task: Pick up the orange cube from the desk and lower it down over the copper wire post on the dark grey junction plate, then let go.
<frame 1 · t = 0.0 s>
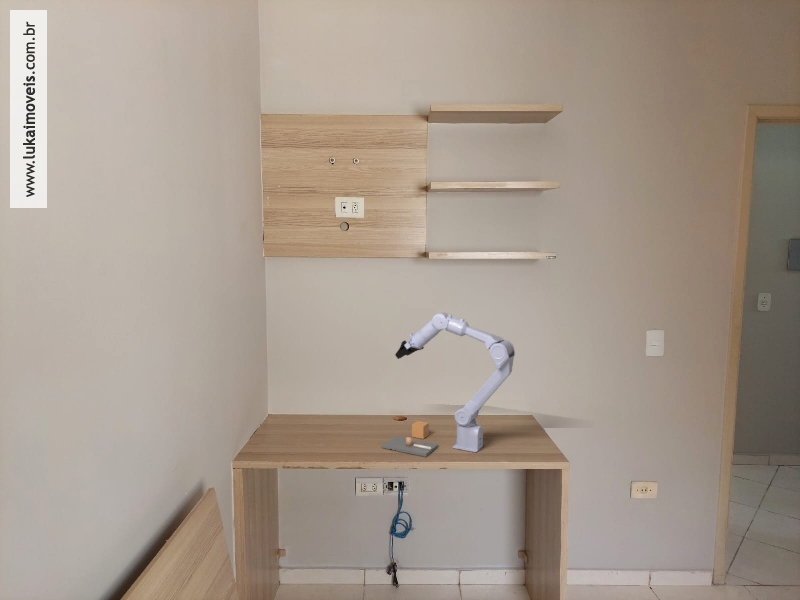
hand: (401, 355, 204), 32 cm above the table, tool tilted 50°, fingers open, 7 cm apart
junction plate: (410, 447, 192), on the table
orange cube: (420, 435, 205), on the table
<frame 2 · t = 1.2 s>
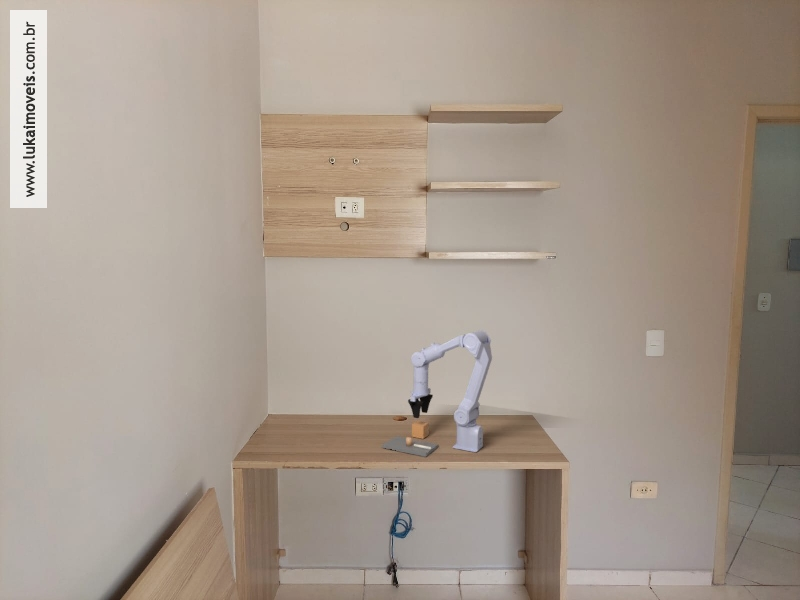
hand: (420, 415, 204), 8 cm above the table, tool pointing down, fingers open, 7 cm apart
nothing on the table moved.
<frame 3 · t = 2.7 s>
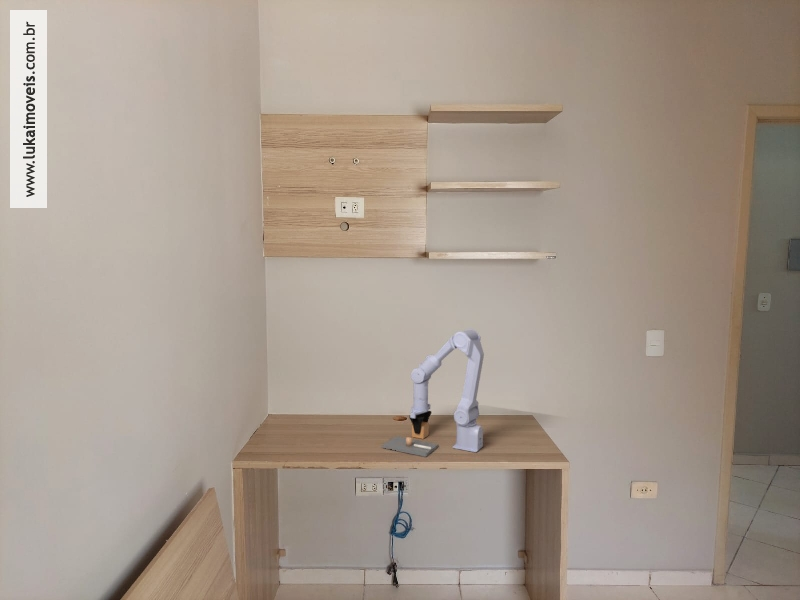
hand: (420, 431, 205), 2 cm above the table, tool pointing down, fingers closed on orange cube, 5 cm apart
orange cube: (420, 435, 205), on the table, touching gripper
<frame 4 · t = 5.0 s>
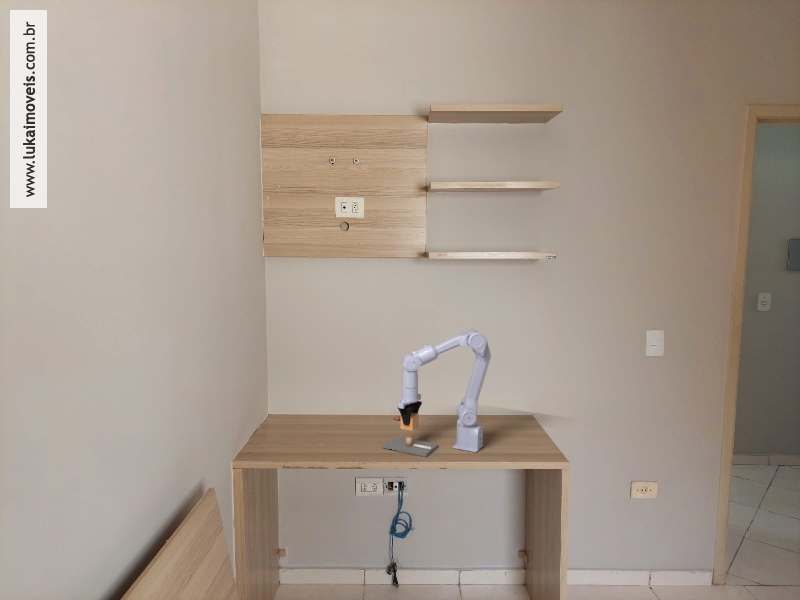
hand: (409, 422, 192), 9 cm above the table, tool pointing down, fingers closed on orange cube, 5 cm apart
orange cube: (409, 427, 192), point 7 cm above the table, touching gripper
when the fingers open (5 cm above the table, at t = 7.1 s): orange cube drops 1 cm, resting on junction plate.
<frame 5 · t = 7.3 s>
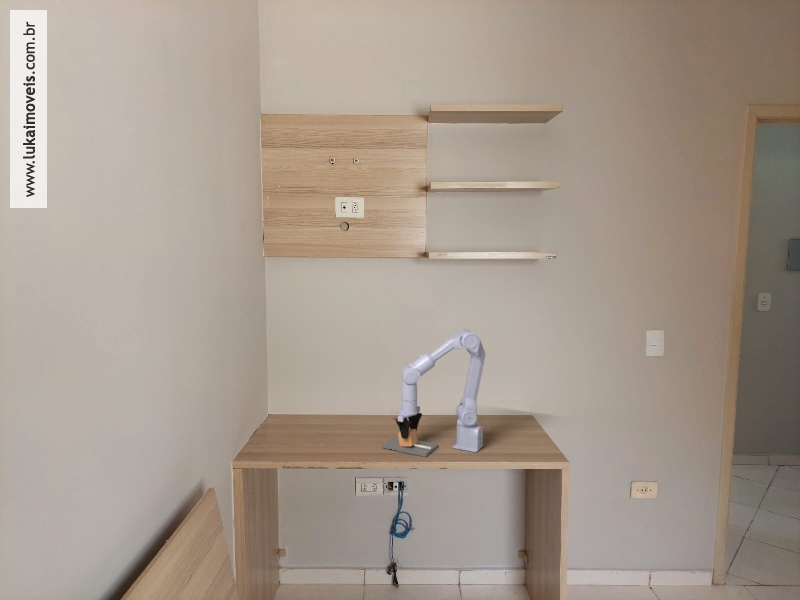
hand: (409, 435, 191), 5 cm above the table, tool pointing down, fingers open, 7 cm apart
orange cube: (408, 444, 191), point 2 cm above the table, tilted 11°, touching junction plate
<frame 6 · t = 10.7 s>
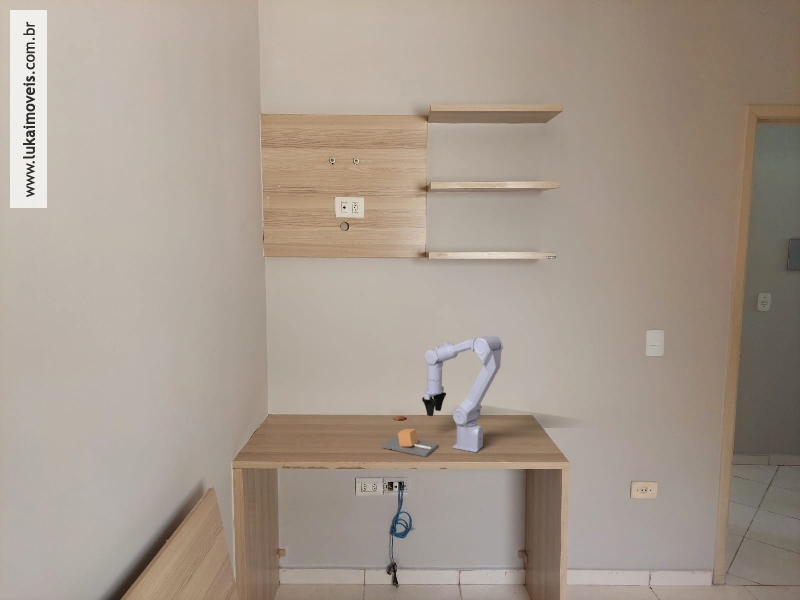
hand: (434, 413, 203), 9 cm above the table, tool pointing down, fingers open, 7 cm apart
nothing on the table moved.
at the end: orange cube 0.0 cm from the target spot on the junction plate, point 1.5 cm above the junction plate's base; orange cube tilted 11°; the gripper is holding nothing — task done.
